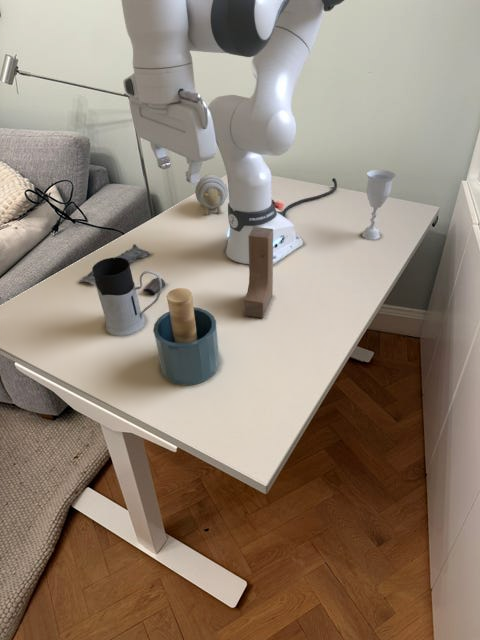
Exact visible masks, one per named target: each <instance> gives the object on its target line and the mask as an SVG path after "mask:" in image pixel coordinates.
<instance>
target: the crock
mask: <svg viewBox="0 0 480 640" xmlns="http://www.w3.org/2000/svg"><path fill="white" fill-rule="evenodd" d="M193 308H194V315H195V323H196V331H197V339H198V340H197V341H194V342H190V343H181V344H178V343H175V342H174V336H173V330H172V324H171V318H170V313H169V311H167V312H165V313H163V314H162V315H161V316H159V317H158V318H157V319H156V321H155V323H153V330H152V332H153V336H154V341H155V345H156V351H157V355H158V360H159V364H160V369H161V373H162V375H163V376H164V377H165V379H167V381H169V382H171V383H173V384H176V385H180V386H193V385H199V384H201V383H204V382H206V381H207V380H209V379H211V378H212V377H213V376H214V375H215V374H216V373H217V371H218V370H219V368H220V367H219V366H220V351H219V350H220V349H219V339H218V338H219V337H218V329H217V328H218V327H217V320H216V318H215V316H214V315H213V314H212V313H211V312H209V311H208V310H206V309H203V308H202V307H201V308H200V307H195V306H193Z"/></svg>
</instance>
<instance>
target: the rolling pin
mask: <svg viewBox="0 0 480 640" xmlns="http://www.w3.org/2000/svg"><path fill="white" fill-rule="evenodd" d="M166 300H167V301H166V302H167V306H168V312H169V313H170V318H171V324H172V330H173V336H174V342H175V343H178V344H181V343H190V342H194V341H197V340H198V339H197V331H196V323H195V315H194V308H193V307H194V301H193V294H192V291H191V290H190V289H188V288H184V287H177V288H173V289H172V290H170V291H168V293H167V294H166Z"/></svg>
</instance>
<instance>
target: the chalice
mask: <svg viewBox="0 0 480 640" xmlns="http://www.w3.org/2000/svg"><path fill="white" fill-rule="evenodd" d="M366 176H367V178H368V179H367V184H366V196H367V200H368V203H369V205H370V208H372V209H373V210H372V212H371V218H370V219H369V220H370V225H369V226H366V228H365V229H364V230H363V233H361V236H362V238H364V239H367V240H374V241H375V240H378V239H380V237H381V234H380V231H379V228H378V227H376V225H375V224H376V222H377V221H378V220H377V216H378V209H380V208H381V207H382V206H383V205H384V203H385V202H386V201H387V199H388V197H389V196H390V194H391V190H392V184H393V180H394V178H395V177H396V174H395V173H394V172H392V171H391V170H390V171H389V170H384V169H372V170H369V171H368V172H367V173H366Z"/></svg>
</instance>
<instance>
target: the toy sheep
mask: <svg viewBox="0 0 480 640" xmlns="http://www.w3.org/2000/svg"><path fill="white" fill-rule="evenodd" d="M194 192H195V198H196V200H197V202H198V203H199V205H200V206H202V207H203V209H204V214H205V215H209V213H210V211H209V210H215V209H216V212H217V214H221V213H222V206H223V205H224V203H225V202H226V200H227V198H228V196H229V191H228V185H227V183H226V182H225V181H224V180H223V179H222V178H221V177H220V176H218V175H215V174H207V175H204V176H202V177H200V181H199V182H198V183H196V186H195V190H194Z"/></svg>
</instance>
